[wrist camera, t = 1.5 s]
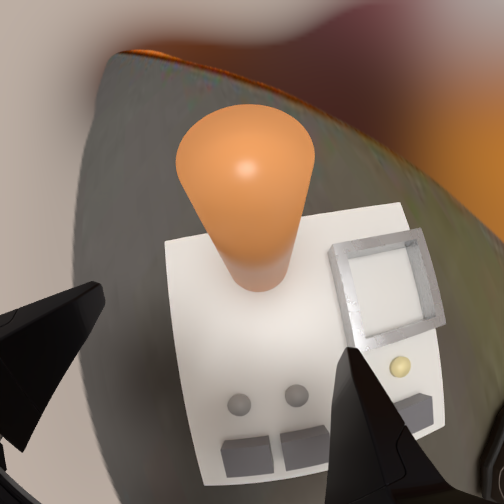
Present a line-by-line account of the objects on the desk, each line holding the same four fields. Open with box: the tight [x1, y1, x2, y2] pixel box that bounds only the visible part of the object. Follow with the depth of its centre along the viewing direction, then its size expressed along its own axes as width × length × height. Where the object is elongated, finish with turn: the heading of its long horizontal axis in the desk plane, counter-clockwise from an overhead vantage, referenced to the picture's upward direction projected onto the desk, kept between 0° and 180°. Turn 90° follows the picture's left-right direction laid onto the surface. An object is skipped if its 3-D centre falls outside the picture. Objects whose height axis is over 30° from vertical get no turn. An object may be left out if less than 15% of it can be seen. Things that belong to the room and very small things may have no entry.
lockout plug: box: [176, 104, 315, 292], centre depth 15 cm, size 4×4×13 cm
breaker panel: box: [165, 202, 445, 486], centre depth 18 cm, size 20×20×3 cm
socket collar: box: [327, 228, 446, 353], centre depth 19 cm, size 8×8×2 cm
